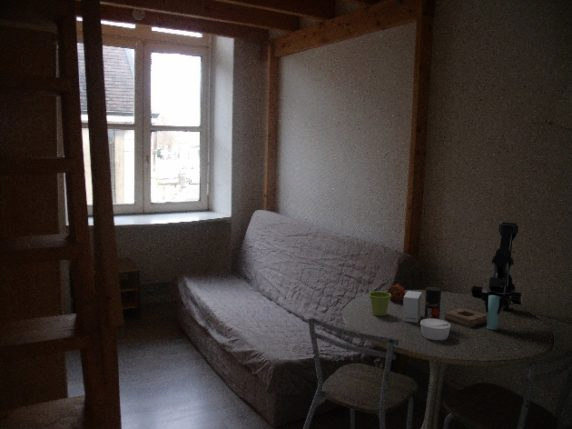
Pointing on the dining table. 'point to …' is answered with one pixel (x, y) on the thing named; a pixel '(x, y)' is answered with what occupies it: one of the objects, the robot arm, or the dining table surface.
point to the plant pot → (379, 302)
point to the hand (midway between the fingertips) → (492, 313)
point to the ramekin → (435, 329)
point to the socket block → (465, 317)
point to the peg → (493, 312)
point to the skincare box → (412, 306)
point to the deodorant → (432, 303)
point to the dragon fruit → (396, 292)
